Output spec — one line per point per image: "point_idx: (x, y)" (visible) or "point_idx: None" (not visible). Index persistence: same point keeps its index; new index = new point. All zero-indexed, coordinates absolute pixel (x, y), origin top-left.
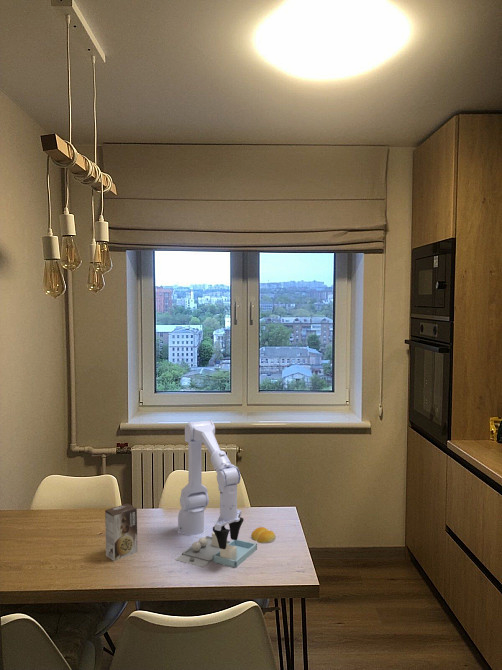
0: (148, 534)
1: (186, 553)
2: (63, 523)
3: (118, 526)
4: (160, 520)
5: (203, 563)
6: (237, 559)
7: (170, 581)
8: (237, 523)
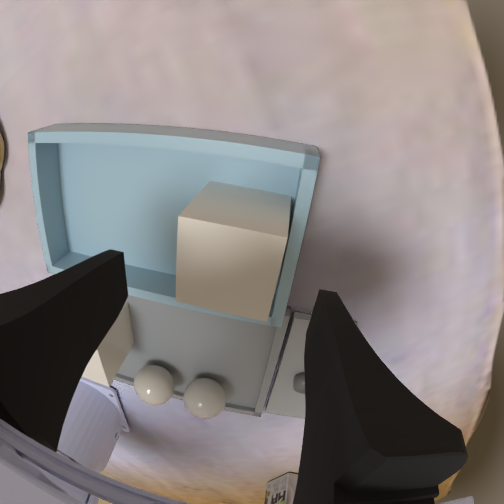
0: (178, 466)
1: (247, 404)
2: None
3: None
4: None
5: None
6: (279, 157)
7: (460, 375)
8: (16, 355)
